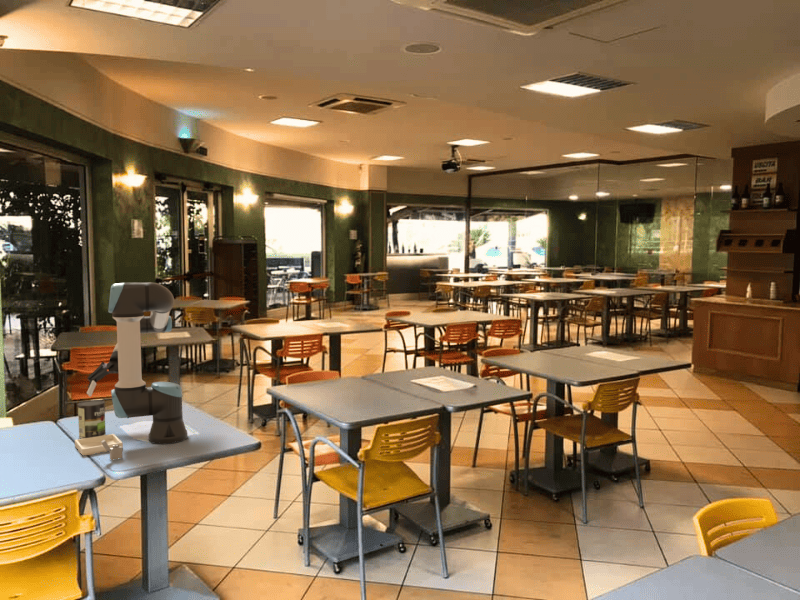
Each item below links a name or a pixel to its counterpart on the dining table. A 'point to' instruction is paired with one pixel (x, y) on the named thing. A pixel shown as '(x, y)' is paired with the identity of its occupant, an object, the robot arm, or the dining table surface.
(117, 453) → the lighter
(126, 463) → the dining table surface
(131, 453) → the dining table surface
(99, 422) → the coffee can
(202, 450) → the dining table surface
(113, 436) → the pocket tray
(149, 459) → the dining table surface
